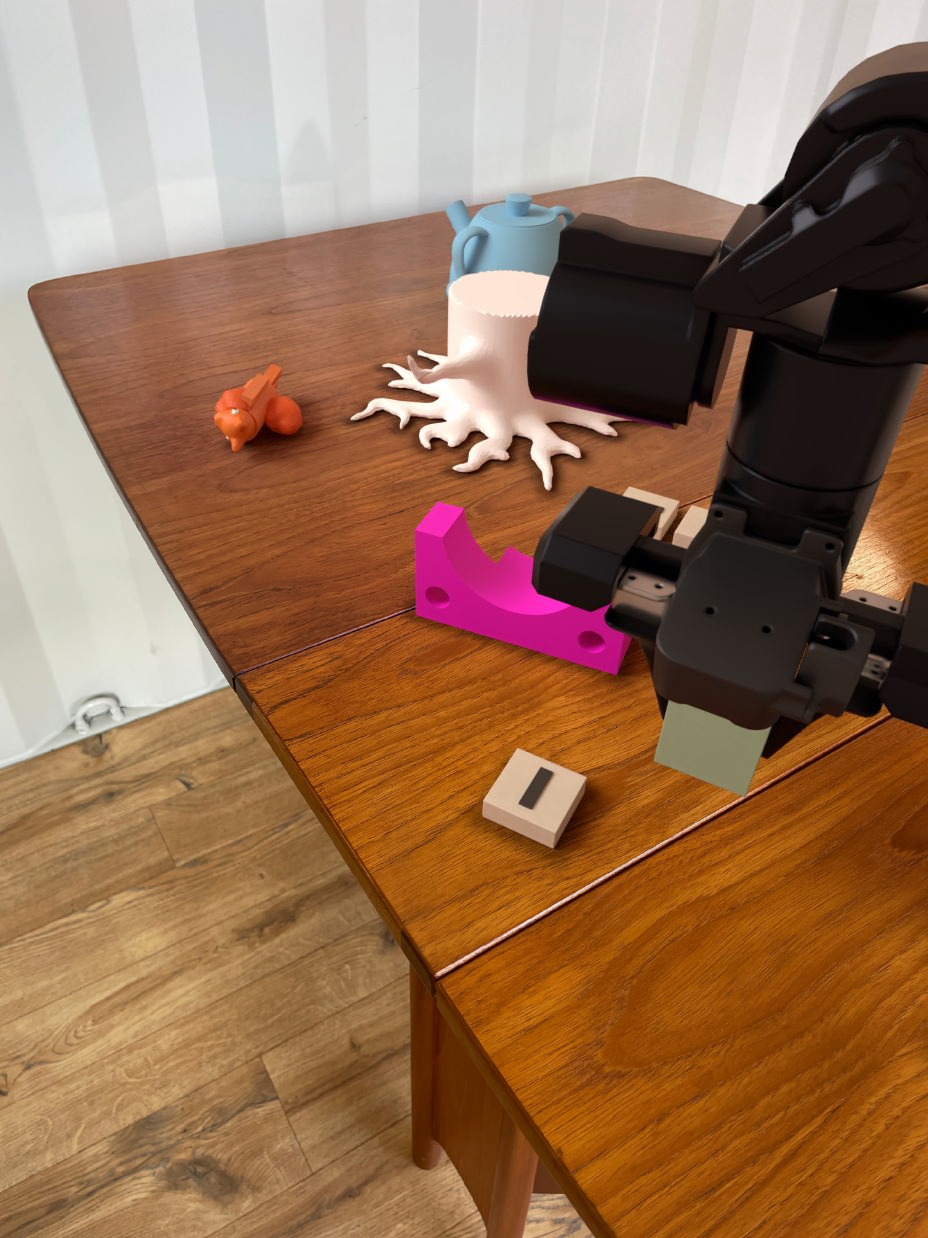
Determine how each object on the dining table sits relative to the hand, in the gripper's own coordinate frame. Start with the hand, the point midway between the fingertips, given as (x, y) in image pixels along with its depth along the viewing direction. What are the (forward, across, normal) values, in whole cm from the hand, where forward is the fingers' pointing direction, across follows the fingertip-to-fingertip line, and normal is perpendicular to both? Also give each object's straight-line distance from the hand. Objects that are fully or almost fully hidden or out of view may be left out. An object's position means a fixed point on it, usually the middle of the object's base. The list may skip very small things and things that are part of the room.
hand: (715, 733), depth 43 cm
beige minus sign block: (+10, -8, -1) cm, 13 cm away
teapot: (+10, -44, +67) cm, 81 cm away
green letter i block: (+1, 0, 0) cm, 1 cm away
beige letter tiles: (+10, -10, +30) cm, 33 cm away
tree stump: (+10, -33, +42) cm, 54 cm away
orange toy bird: (+10, -49, +26) cm, 56 cm away
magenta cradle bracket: (+10, -16, +14) cm, 23 cm away
